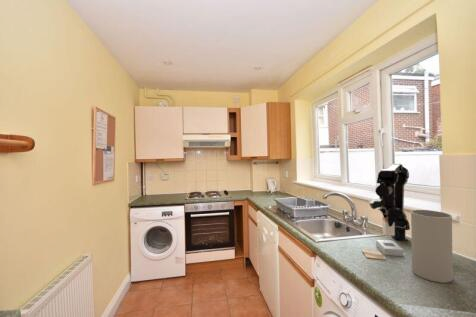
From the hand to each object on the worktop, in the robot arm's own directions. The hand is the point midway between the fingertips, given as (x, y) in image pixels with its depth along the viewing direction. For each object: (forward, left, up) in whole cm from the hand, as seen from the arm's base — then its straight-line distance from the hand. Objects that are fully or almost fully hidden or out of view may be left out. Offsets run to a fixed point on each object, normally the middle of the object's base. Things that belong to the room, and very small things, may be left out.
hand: (388, 225), depth 115 cm
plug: (0, 0, -5) cm, 5 cm away
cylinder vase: (+23, +7, -13) cm, 27 cm away
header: (0, 0, -13) cm, 13 cm away
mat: (+8, -9, -13) cm, 18 cm away
